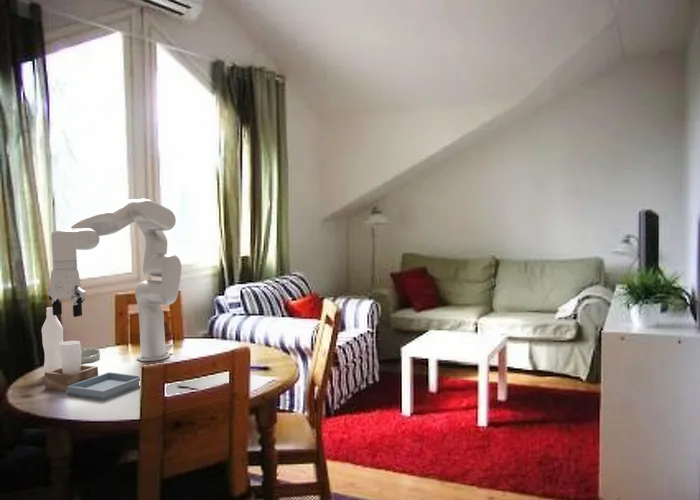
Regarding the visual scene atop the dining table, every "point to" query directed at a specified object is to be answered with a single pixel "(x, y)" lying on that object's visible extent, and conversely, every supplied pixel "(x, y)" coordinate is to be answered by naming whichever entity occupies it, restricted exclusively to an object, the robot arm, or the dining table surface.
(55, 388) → the frame
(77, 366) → the drinking glass
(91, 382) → the tray
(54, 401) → the dining table surface
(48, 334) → the water bottle
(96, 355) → the wristwatch
